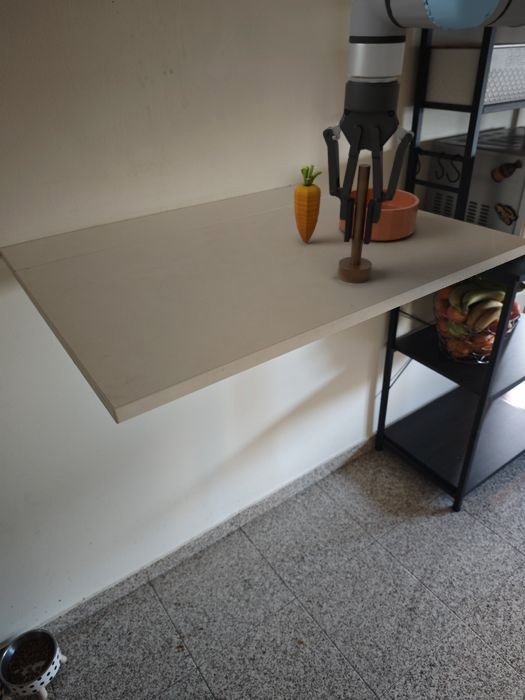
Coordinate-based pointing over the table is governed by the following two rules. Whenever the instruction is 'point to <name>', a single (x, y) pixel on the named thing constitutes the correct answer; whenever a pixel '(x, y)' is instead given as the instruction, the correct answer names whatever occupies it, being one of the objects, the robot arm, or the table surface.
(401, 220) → the bowl
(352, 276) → the dark brown rod
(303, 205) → the carrot
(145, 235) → the table surface
